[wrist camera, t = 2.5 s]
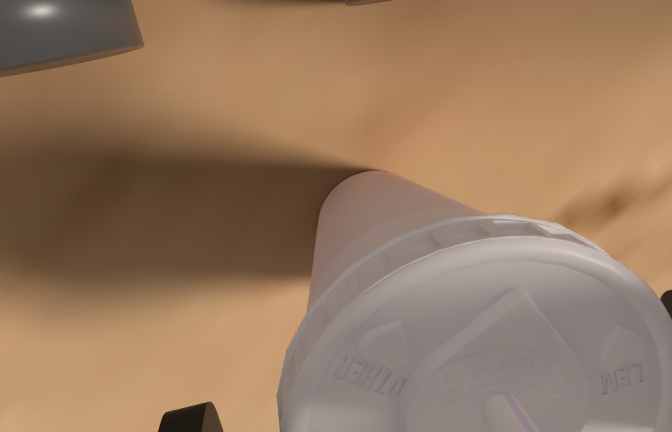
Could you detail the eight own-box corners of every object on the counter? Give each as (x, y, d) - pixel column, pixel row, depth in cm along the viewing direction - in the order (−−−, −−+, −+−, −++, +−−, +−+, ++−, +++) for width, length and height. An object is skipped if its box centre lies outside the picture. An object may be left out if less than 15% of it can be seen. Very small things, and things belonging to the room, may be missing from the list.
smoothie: (481, 135, 16) (1424, 516, 3) (450, 313, 18) (931, 1029, 5) (281, 121, 15) (318, 564, 2) (271, 308, 17) (255, 1171, 4)
